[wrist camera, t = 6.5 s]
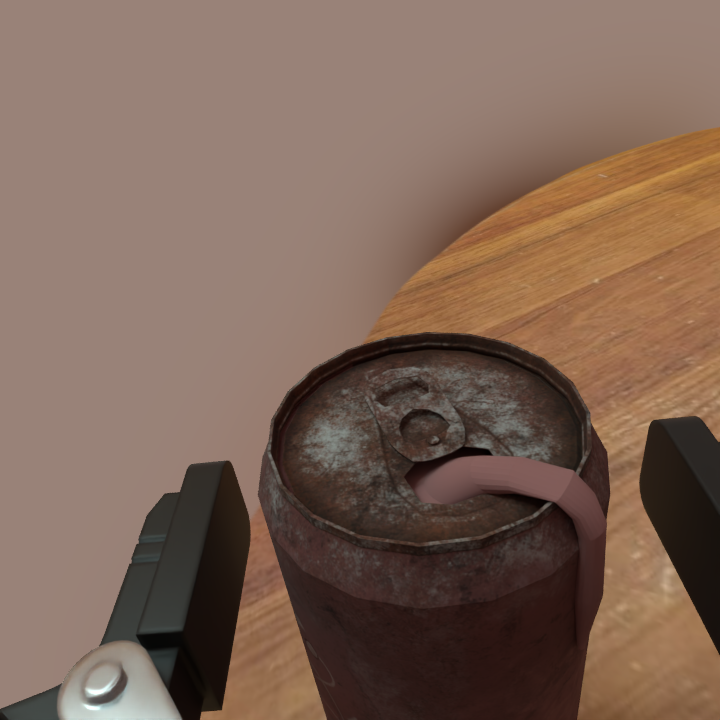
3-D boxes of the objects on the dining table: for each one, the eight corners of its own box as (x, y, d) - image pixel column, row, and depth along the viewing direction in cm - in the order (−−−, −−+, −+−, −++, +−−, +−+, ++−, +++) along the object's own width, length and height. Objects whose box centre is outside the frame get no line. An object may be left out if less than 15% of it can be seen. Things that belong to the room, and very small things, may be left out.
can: (521, 981, 15) (550, 653, 7) (312, 814, 18) (170, 466, 10) (600, 745, 18) (677, 362, 11) (417, 644, 22) (372, 297, 14)
